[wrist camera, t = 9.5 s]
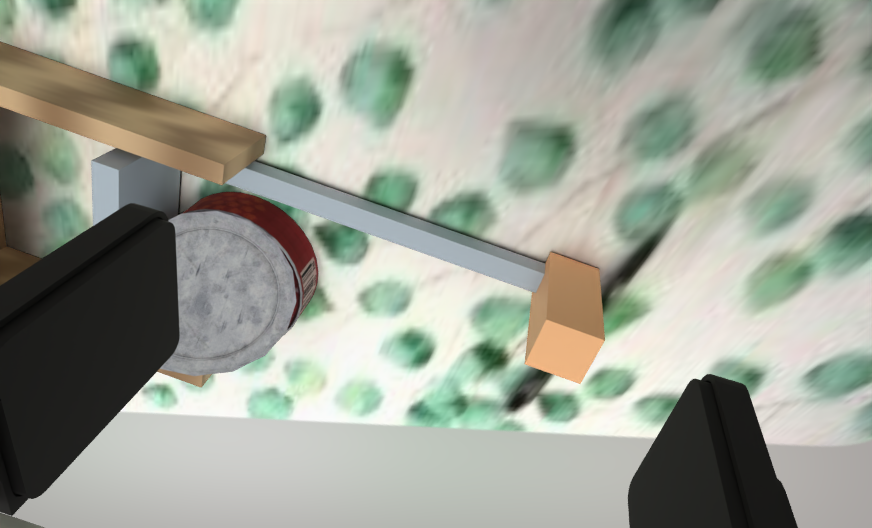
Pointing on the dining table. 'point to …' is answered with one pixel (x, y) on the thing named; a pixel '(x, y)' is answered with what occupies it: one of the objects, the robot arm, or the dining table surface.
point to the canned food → (237, 281)
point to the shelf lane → (119, 130)
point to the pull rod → (549, 282)
